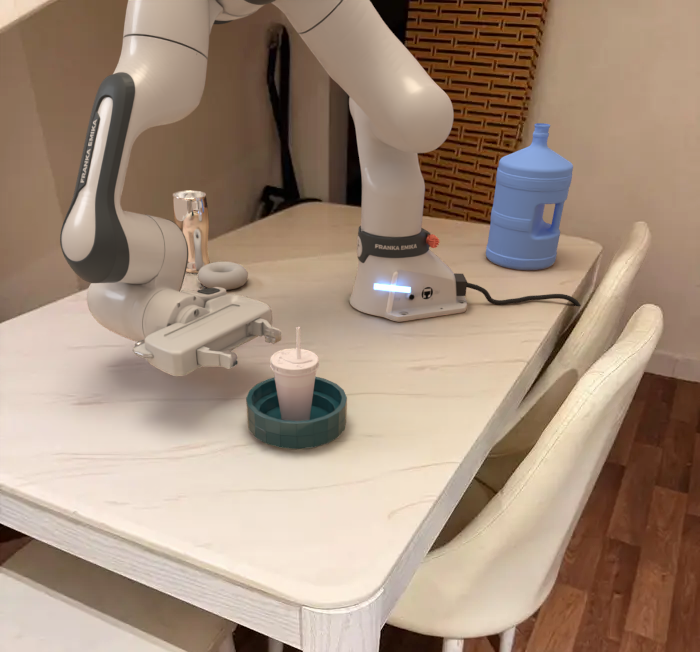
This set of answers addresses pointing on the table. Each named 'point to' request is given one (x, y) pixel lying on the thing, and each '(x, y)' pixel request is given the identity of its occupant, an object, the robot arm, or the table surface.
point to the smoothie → (295, 380)
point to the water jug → (528, 205)
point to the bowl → (297, 434)
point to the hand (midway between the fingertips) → (257, 348)
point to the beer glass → (193, 226)
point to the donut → (223, 275)
